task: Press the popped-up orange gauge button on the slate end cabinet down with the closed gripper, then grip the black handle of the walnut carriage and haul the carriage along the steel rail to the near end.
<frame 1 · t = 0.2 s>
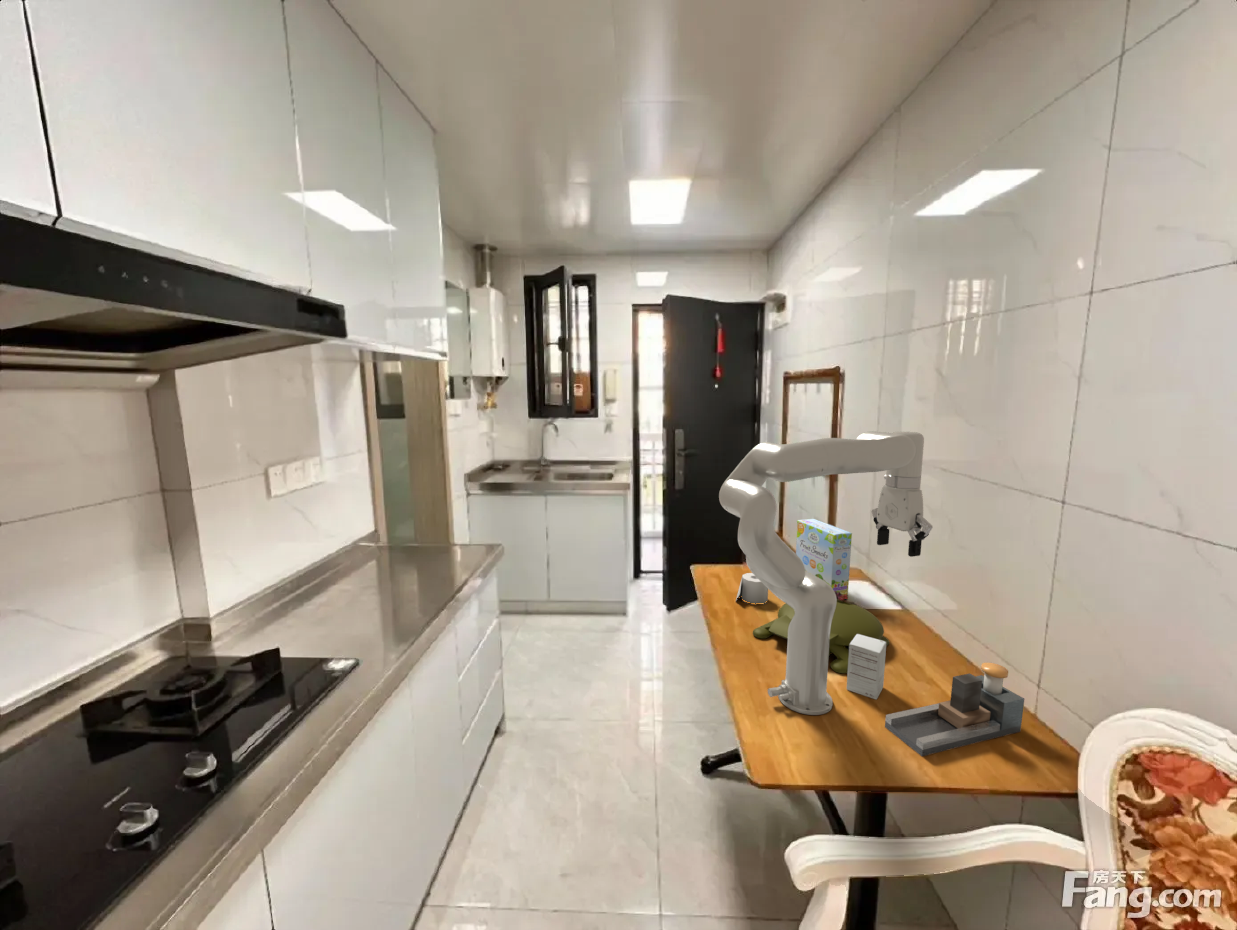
hand: (897, 550, 129), 36 cm above the table, tool pointing down, fingers open, 9 cm apart
rail base: (952, 729, 117), on the table
carriage: (965, 699, 117), point 7 cm above the table, slide at 12.0 cm
toilet tissue: (751, 600, 189), on the table
green toy turtle: (824, 638, 162), on the table
supplement box: (864, 689, 133), on the table
snack box: (819, 591, 198), on the table
gauge button: (992, 684, 119), point 9 cm above the table, slide at 3.0 cm
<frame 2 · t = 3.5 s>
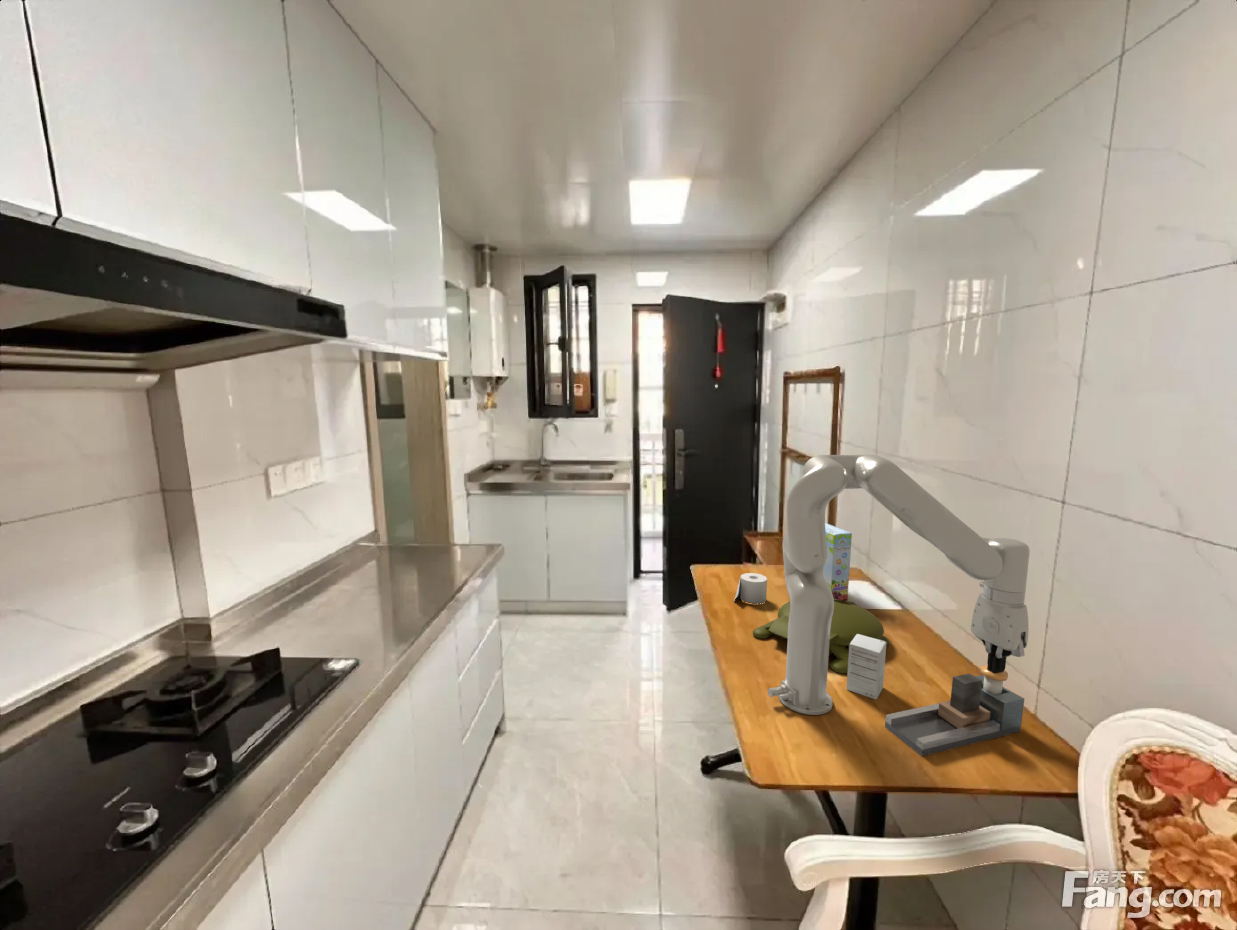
hand: (995, 670, 119), 12 cm above the table, tool pointing down, fingers closed
gauge button: (992, 687, 119), point 8 cm above the table, slide at 2.3 cm, touching gripper
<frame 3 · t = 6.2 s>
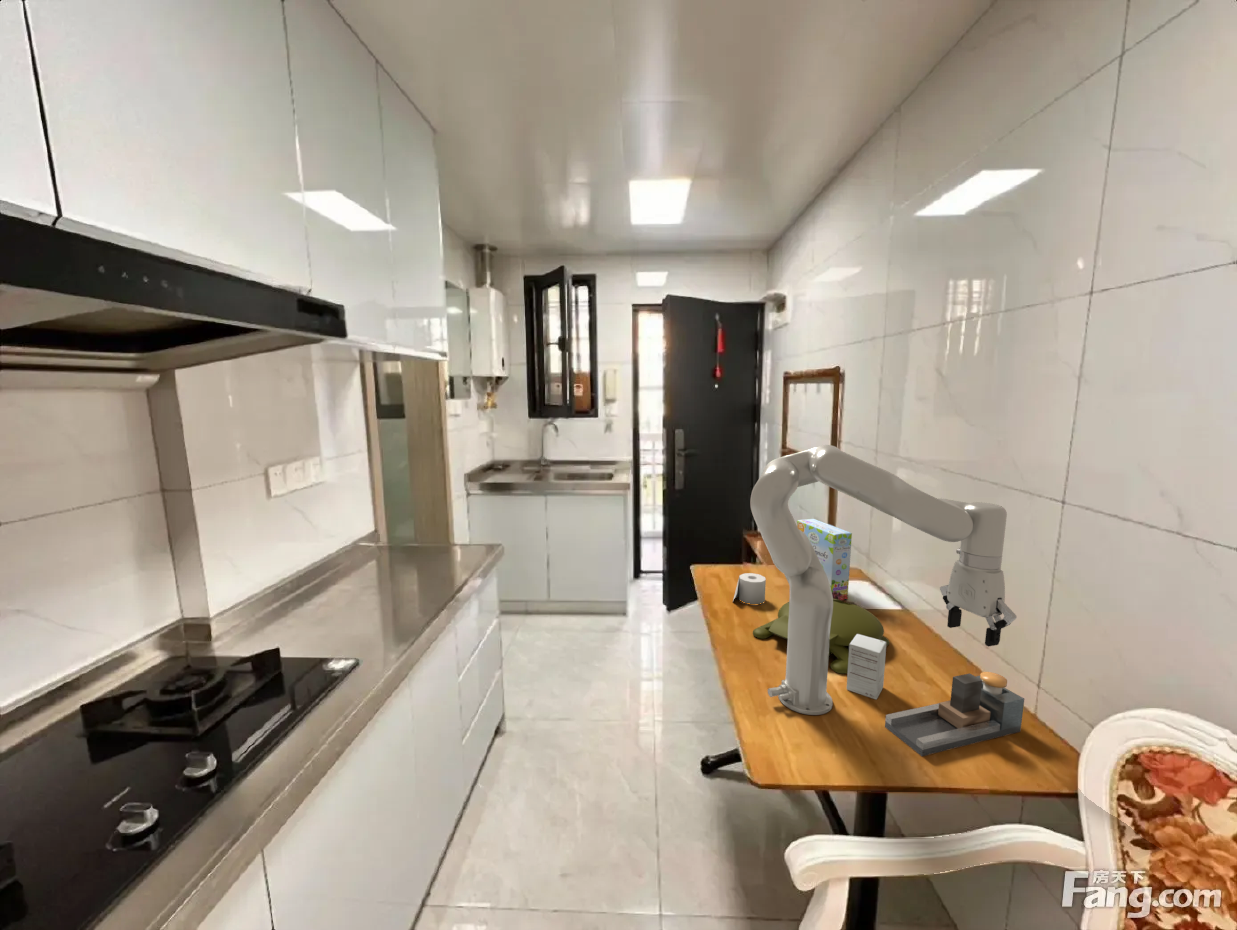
hand: (972, 635, 115), 22 cm above the table, tool pointing down, fingers open, 8 cm apart
gauge button: (991, 693, 120), point 7 cm above the table, slide at 0.7 cm
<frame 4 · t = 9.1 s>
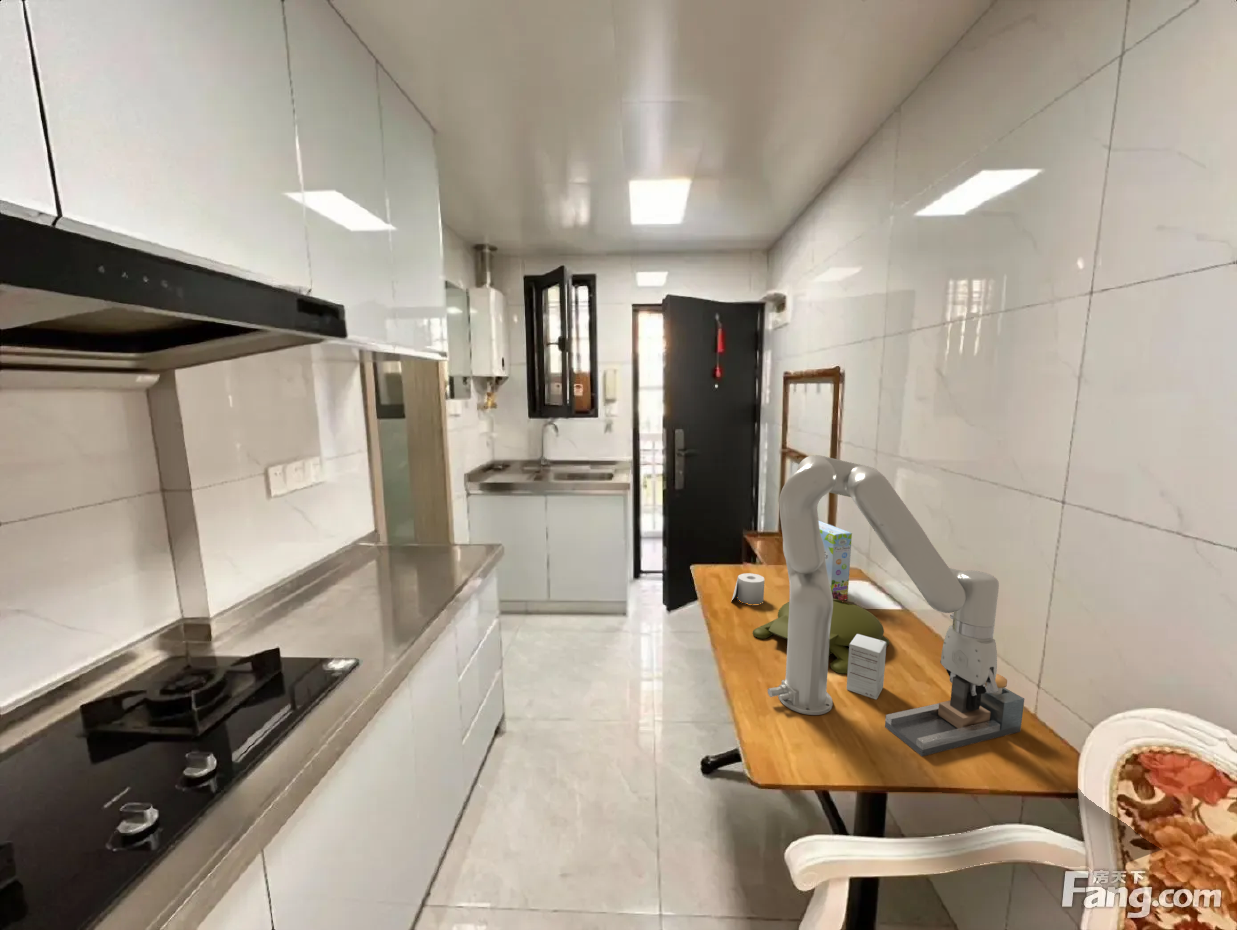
hand: (964, 703, 117), 6 cm above the table, tool pointing down, fingers closed on carriage, 3 cm apart
carriage: (965, 699, 117), point 7 cm above the table, slide at 12.0 cm, touching gripper
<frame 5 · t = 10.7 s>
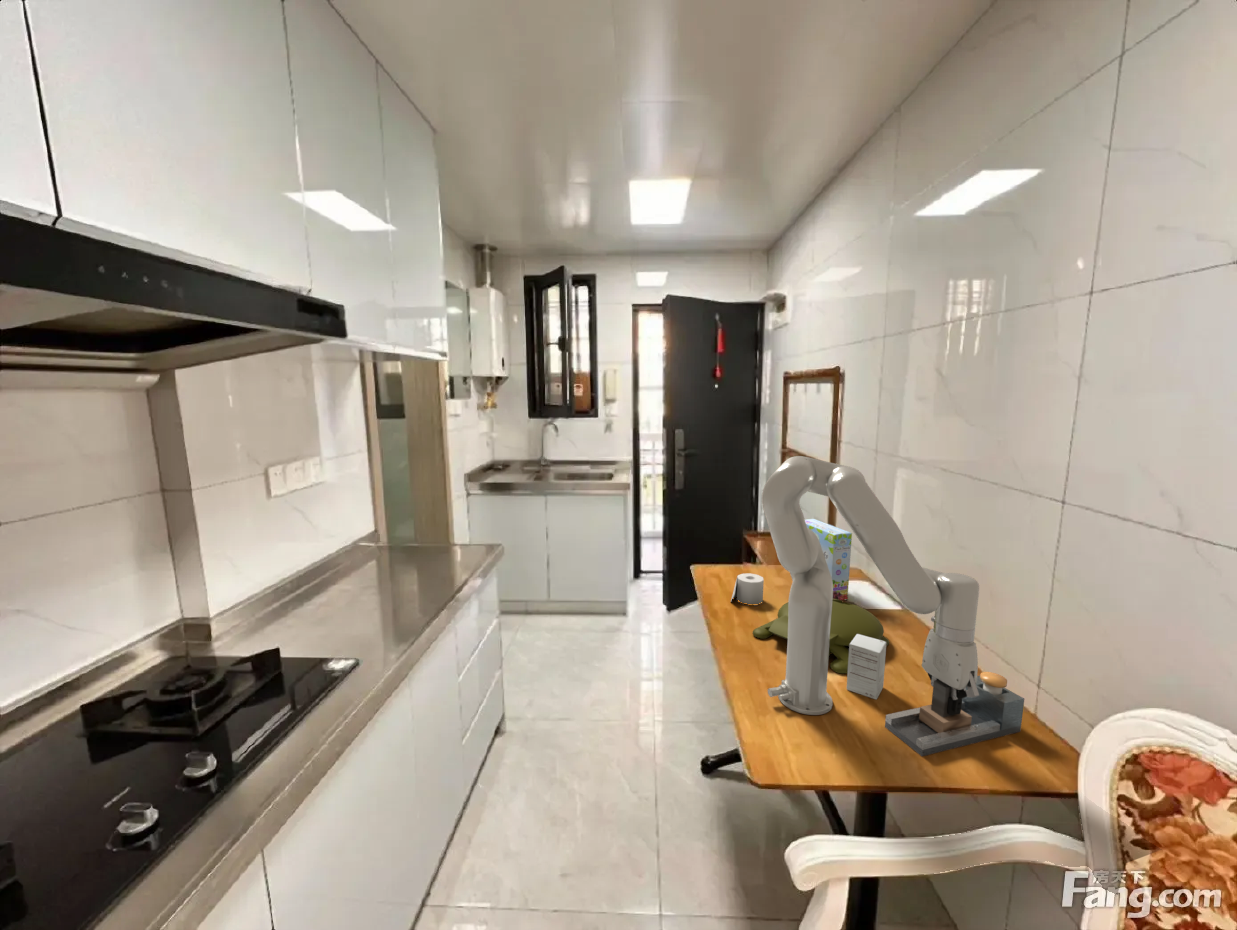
hand: (946, 708, 116), 6 cm above the table, tool pointing down, fingers closed on carriage, 3 cm apart
carriage: (946, 703, 116), point 7 cm above the table, slide at 6.5 cm, touching gripper
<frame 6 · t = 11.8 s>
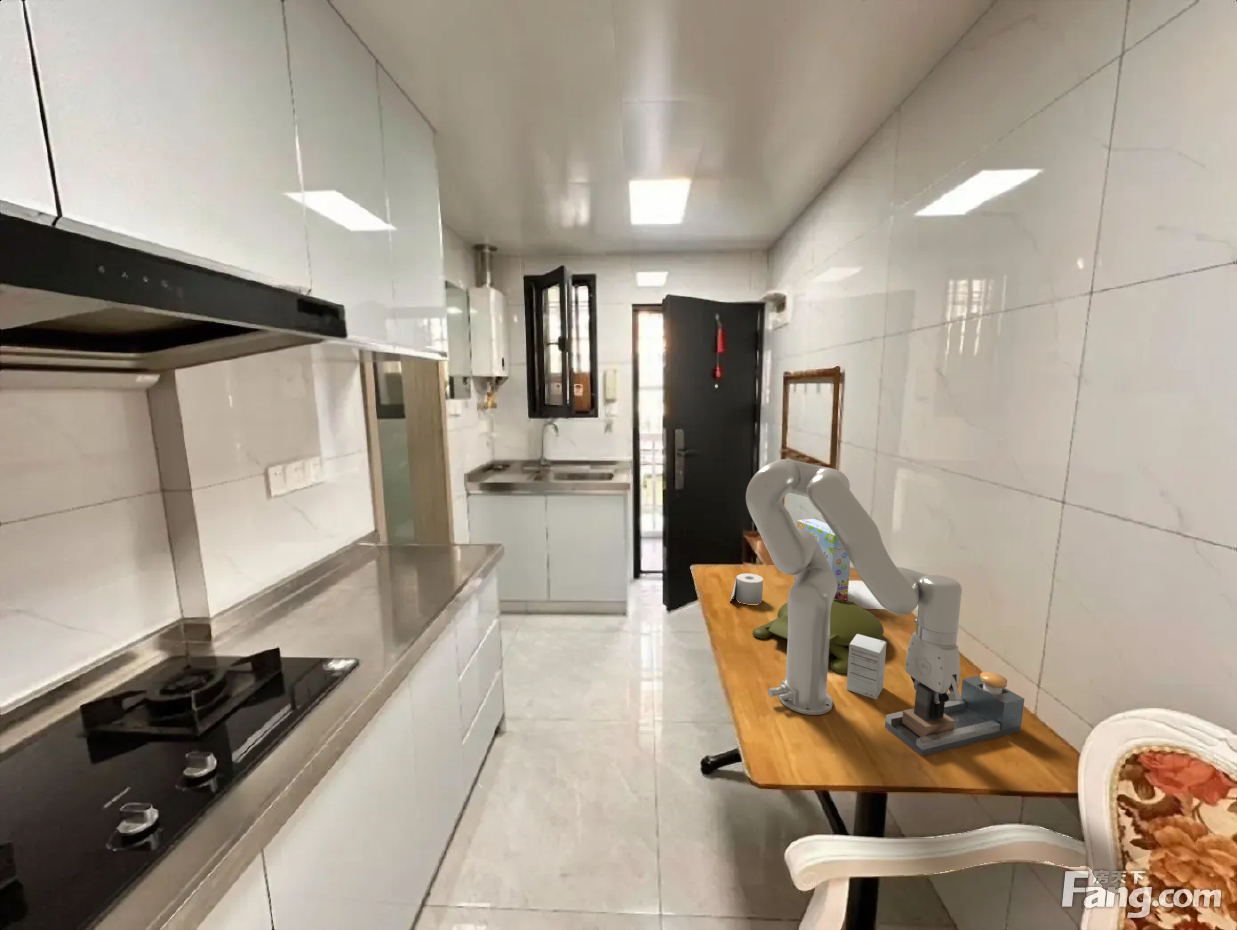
hand: (928, 711, 114), 6 cm above the table, tool pointing down, fingers closed on carriage, 3 cm apart
carriage: (929, 707, 114), point 7 cm above the table, slide at 1.6 cm, touching gripper
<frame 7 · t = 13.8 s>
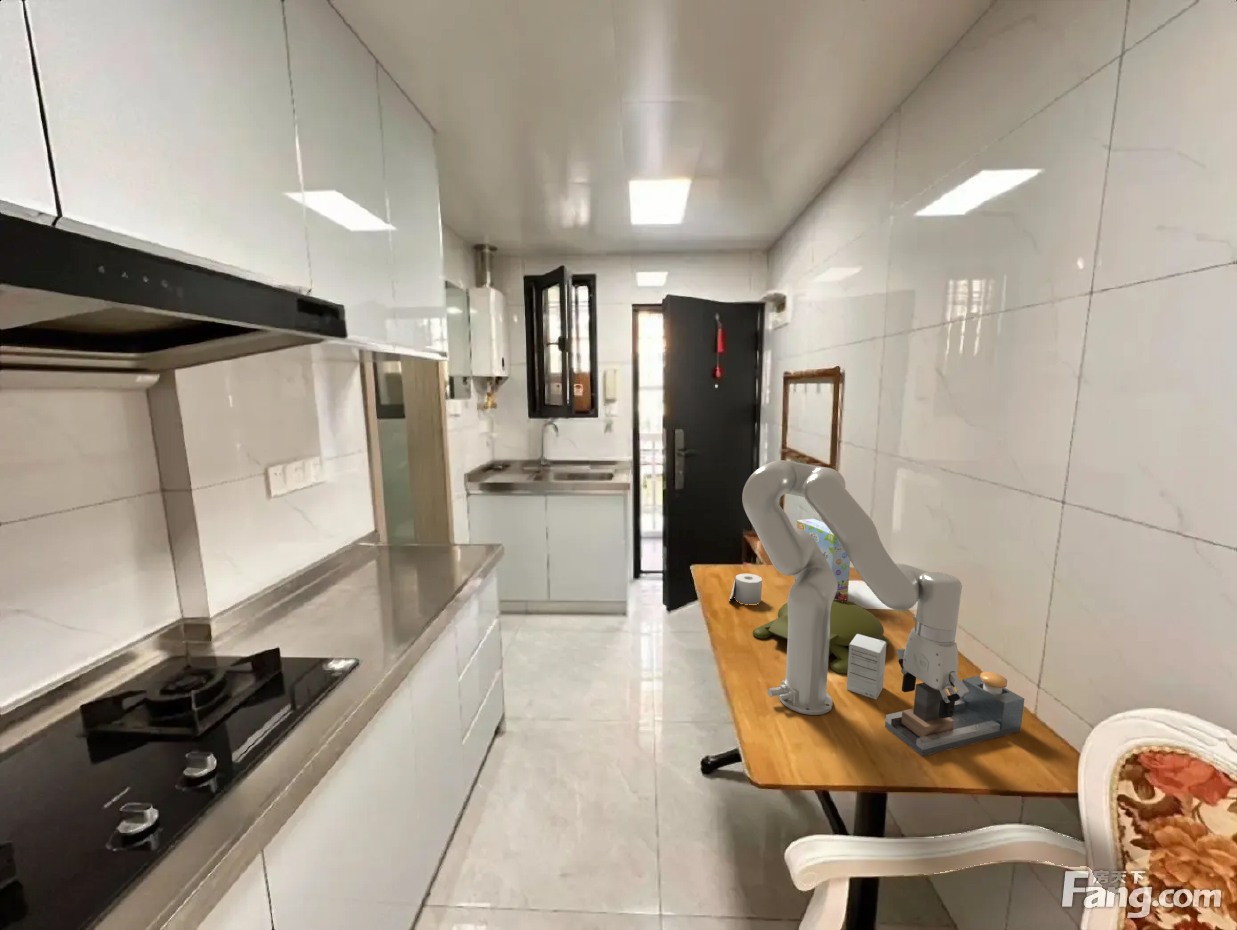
hand: (926, 703, 114), 8 cm above the table, tool pointing down, fingers open, 9 cm apart
carriage: (928, 707, 114), point 7 cm above the table, slide at 1.5 cm
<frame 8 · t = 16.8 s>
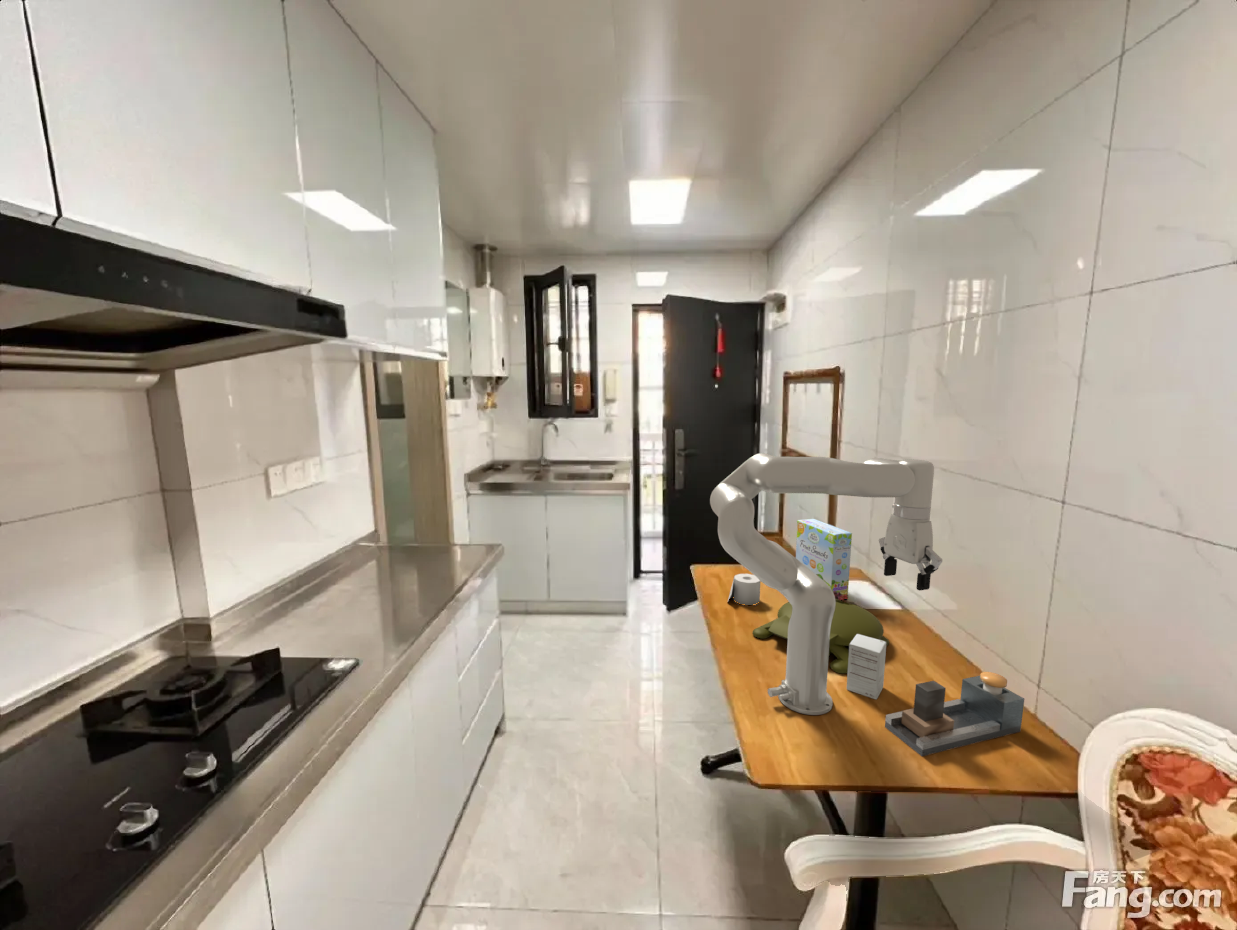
hand: (905, 582, 125), 30 cm above the table, tool pointing down, fingers open, 9 cm apart
at the end: gauge button slide at 0.7 cm; carriage slide at 1.5 cm; the gripper is holding nothing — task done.
